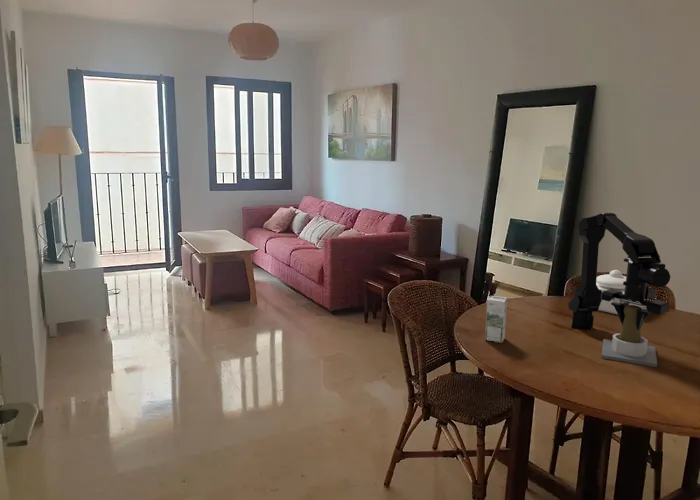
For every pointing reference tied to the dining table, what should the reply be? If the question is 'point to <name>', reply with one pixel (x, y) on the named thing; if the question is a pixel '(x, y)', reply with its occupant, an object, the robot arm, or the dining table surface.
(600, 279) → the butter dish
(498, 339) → the syrup box
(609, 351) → the cup stand
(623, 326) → the cork
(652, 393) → the dining table surface
